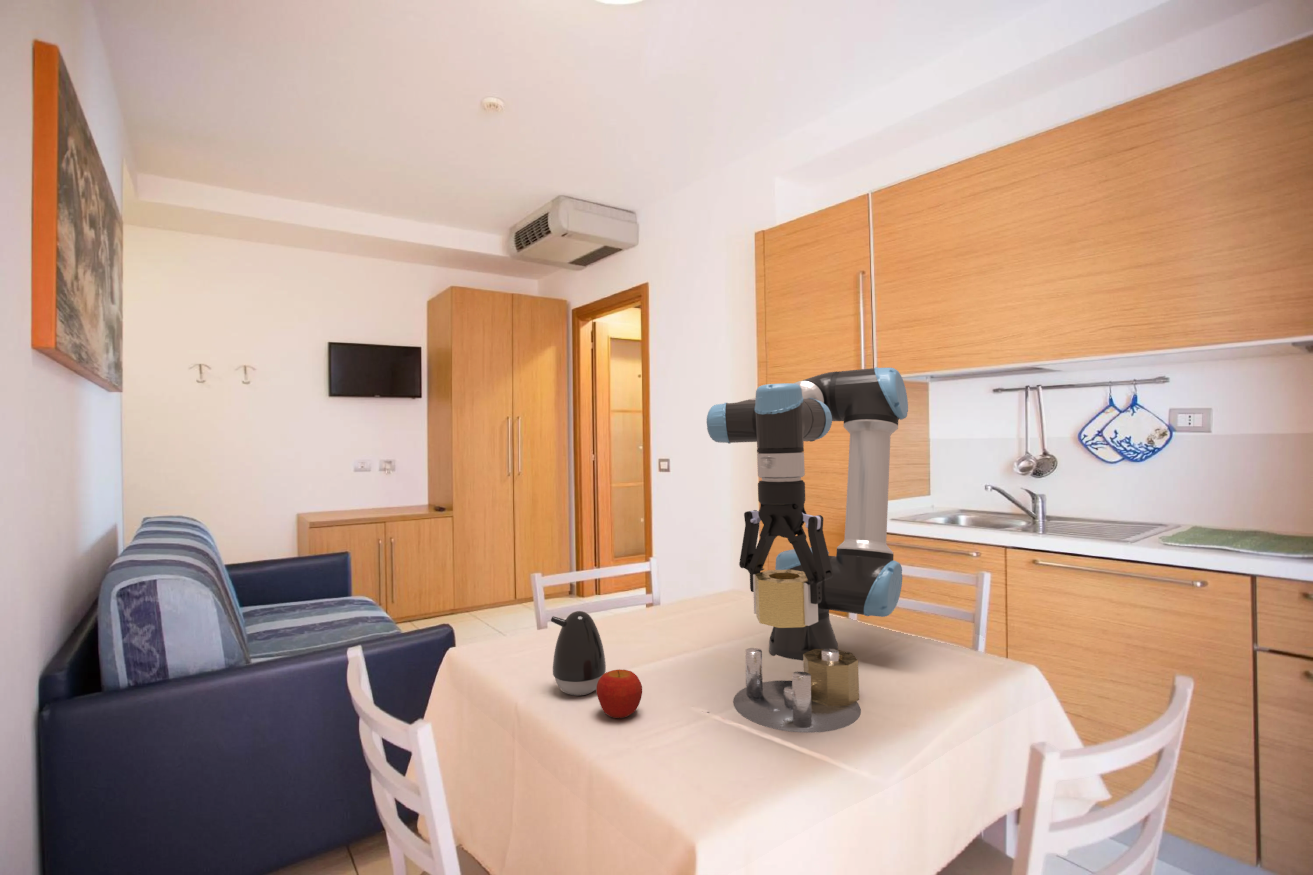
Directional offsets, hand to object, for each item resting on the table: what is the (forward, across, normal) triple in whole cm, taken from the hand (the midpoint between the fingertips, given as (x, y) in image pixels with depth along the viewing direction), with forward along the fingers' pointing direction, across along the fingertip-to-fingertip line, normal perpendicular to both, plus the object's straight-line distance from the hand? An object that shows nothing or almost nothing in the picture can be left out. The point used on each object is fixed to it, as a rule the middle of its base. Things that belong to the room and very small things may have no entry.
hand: (785, 617), depth 100 cm
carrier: (+19, -4, +8) cm, 21 cm away
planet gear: (0, 0, 0) cm, 0 cm away
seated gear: (+18, -2, +16) cm, 24 cm away
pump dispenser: (+19, -39, -13) cm, 45 cm away
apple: (+19, -25, -15) cm, 34 cm away
